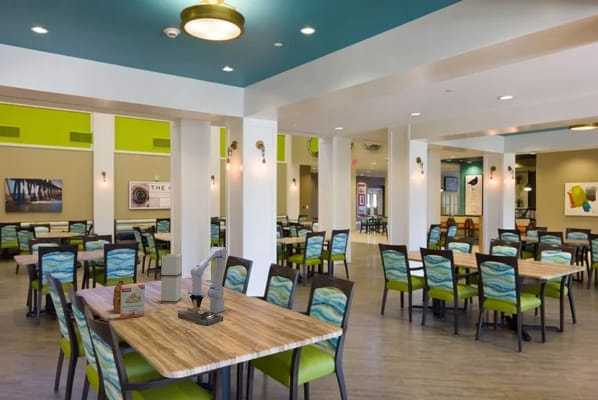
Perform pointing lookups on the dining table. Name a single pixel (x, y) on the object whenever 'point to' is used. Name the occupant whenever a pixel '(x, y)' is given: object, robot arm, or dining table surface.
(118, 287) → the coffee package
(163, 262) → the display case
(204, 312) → the chip
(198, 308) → the brown block with knob
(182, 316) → the slot board
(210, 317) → the chip
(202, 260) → the robot arm
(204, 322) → the tray
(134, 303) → the cracker box
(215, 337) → the dining table surface
